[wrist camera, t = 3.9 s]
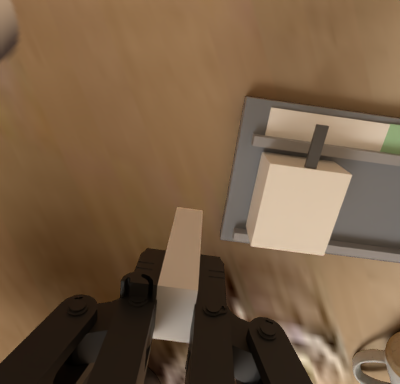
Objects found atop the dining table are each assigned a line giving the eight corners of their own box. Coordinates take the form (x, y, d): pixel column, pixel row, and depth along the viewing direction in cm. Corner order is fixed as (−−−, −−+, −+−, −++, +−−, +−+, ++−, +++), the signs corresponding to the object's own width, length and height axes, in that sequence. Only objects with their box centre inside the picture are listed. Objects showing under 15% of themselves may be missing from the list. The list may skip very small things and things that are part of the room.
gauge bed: (220, 233, 29) (220, 245, 27) (245, 95, 24) (248, 98, 22) (436, 261, 29) (453, 275, 27) (505, 133, 24) (532, 138, 22)
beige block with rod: (245, 225, 27) (250, 246, 24) (270, 112, 23) (280, 119, 20) (310, 234, 27) (323, 255, 24) (345, 123, 23) (367, 132, 20)
